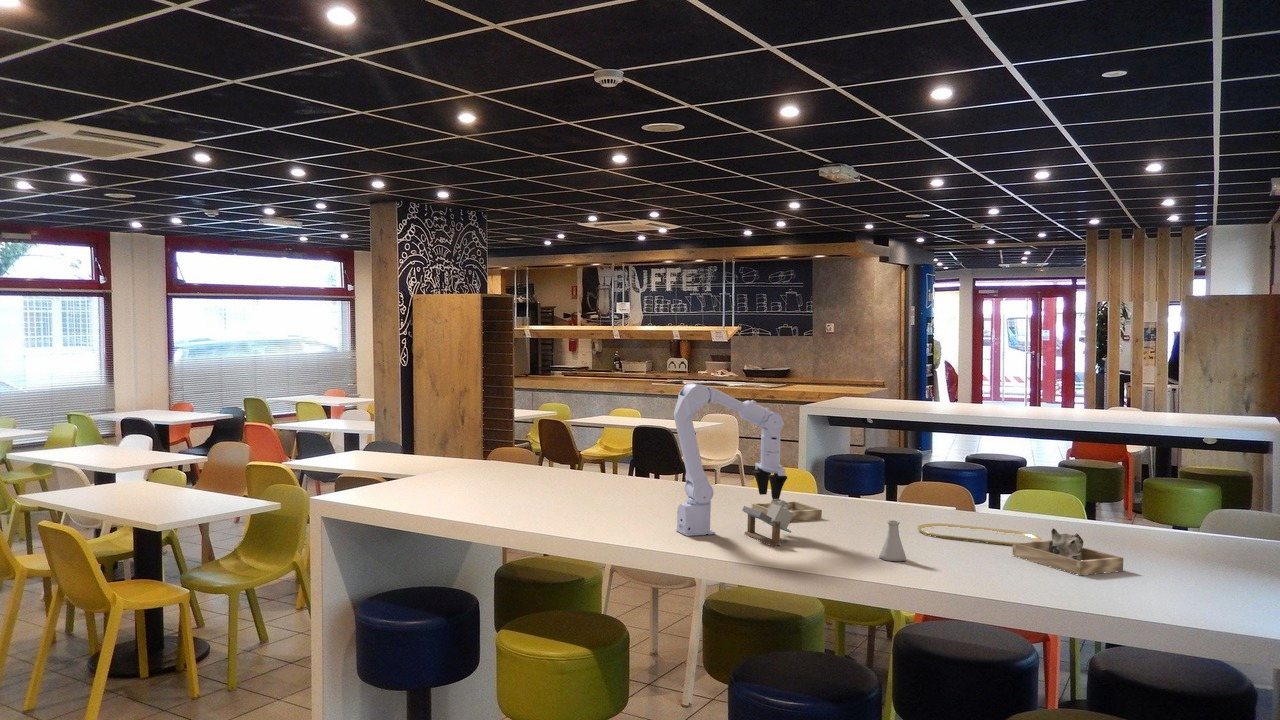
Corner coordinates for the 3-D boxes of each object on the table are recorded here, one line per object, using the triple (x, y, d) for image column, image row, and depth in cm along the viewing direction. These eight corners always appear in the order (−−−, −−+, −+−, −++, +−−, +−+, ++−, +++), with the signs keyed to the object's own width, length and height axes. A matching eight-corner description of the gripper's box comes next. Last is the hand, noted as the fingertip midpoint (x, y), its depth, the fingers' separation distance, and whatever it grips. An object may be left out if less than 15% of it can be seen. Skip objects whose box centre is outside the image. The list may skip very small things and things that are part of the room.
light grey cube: (773, 522, 254) (781, 506, 255) (764, 518, 258) (771, 503, 259) (786, 529, 255) (793, 514, 256) (777, 526, 260) (784, 510, 261)
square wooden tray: (776, 521, 282) (776, 512, 282) (751, 512, 297) (751, 503, 297) (821, 519, 289) (821, 509, 289) (795, 510, 304) (795, 501, 304)
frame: (773, 546, 247) (773, 522, 247) (743, 534, 263) (744, 511, 262) (781, 545, 248) (782, 521, 248) (751, 533, 264) (752, 510, 263)
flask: (875, 555, 240) (876, 518, 240) (902, 556, 239) (903, 519, 239) (882, 561, 232) (883, 523, 232) (910, 562, 232) (911, 524, 232)
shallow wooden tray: (1079, 575, 222) (1080, 561, 222) (1012, 555, 242) (1012, 543, 242) (1123, 571, 228) (1123, 557, 228) (1053, 552, 248) (1054, 539, 248)
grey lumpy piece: (1094, 568, 226) (1084, 529, 227) (1055, 573, 229) (1046, 534, 230) (1085, 557, 241) (1076, 520, 242) (1049, 562, 244) (1040, 526, 245)
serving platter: (921, 526, 283) (921, 521, 283) (1042, 538, 268) (1042, 533, 268) (912, 537, 266) (913, 531, 266) (1040, 551, 251) (1041, 545, 251)
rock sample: (754, 504, 291) (772, 486, 293) (758, 516, 296) (776, 498, 299) (778, 522, 284) (796, 504, 287) (781, 534, 290) (799, 516, 292)
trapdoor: (760, 517, 248) (762, 512, 248) (740, 509, 259) (742, 505, 259) (790, 534, 252) (792, 529, 252) (769, 526, 263) (771, 521, 263)
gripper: (794, 454, 262) (793, 500, 263) (769, 448, 276) (768, 492, 276) (773, 454, 260) (772, 501, 260) (749, 448, 273) (748, 492, 273)
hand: (769, 496), depth 268 cm, fingers open, 7 cm apart
